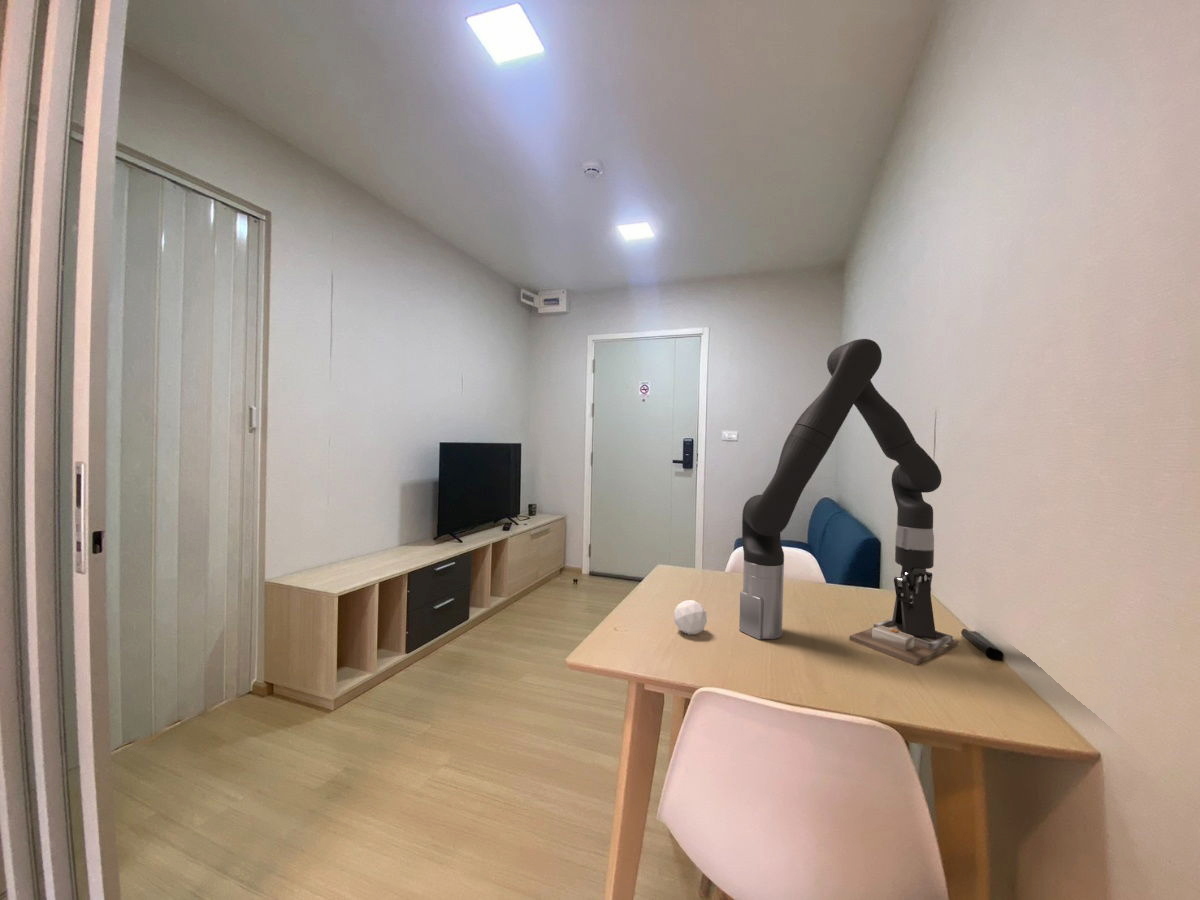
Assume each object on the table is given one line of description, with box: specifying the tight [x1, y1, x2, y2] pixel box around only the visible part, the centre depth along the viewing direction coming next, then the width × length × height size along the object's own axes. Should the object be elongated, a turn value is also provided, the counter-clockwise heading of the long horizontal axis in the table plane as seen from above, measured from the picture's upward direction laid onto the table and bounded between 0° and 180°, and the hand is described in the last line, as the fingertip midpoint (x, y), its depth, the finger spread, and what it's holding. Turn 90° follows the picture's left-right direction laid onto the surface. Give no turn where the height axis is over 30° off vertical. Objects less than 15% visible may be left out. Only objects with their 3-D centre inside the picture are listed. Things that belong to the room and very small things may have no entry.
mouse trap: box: [849, 617, 959, 666], centre depth 104 cm, size 20×14×4 cm
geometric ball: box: [673, 599, 708, 635], centre depth 107 cm, size 8×8×8 cm
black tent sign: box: [891, 581, 936, 639], centre depth 106 cm, size 9×6×12 cm, turn 164°
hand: (912, 616), depth 106 cm, fingers closed on black tent sign, 4 cm apart
